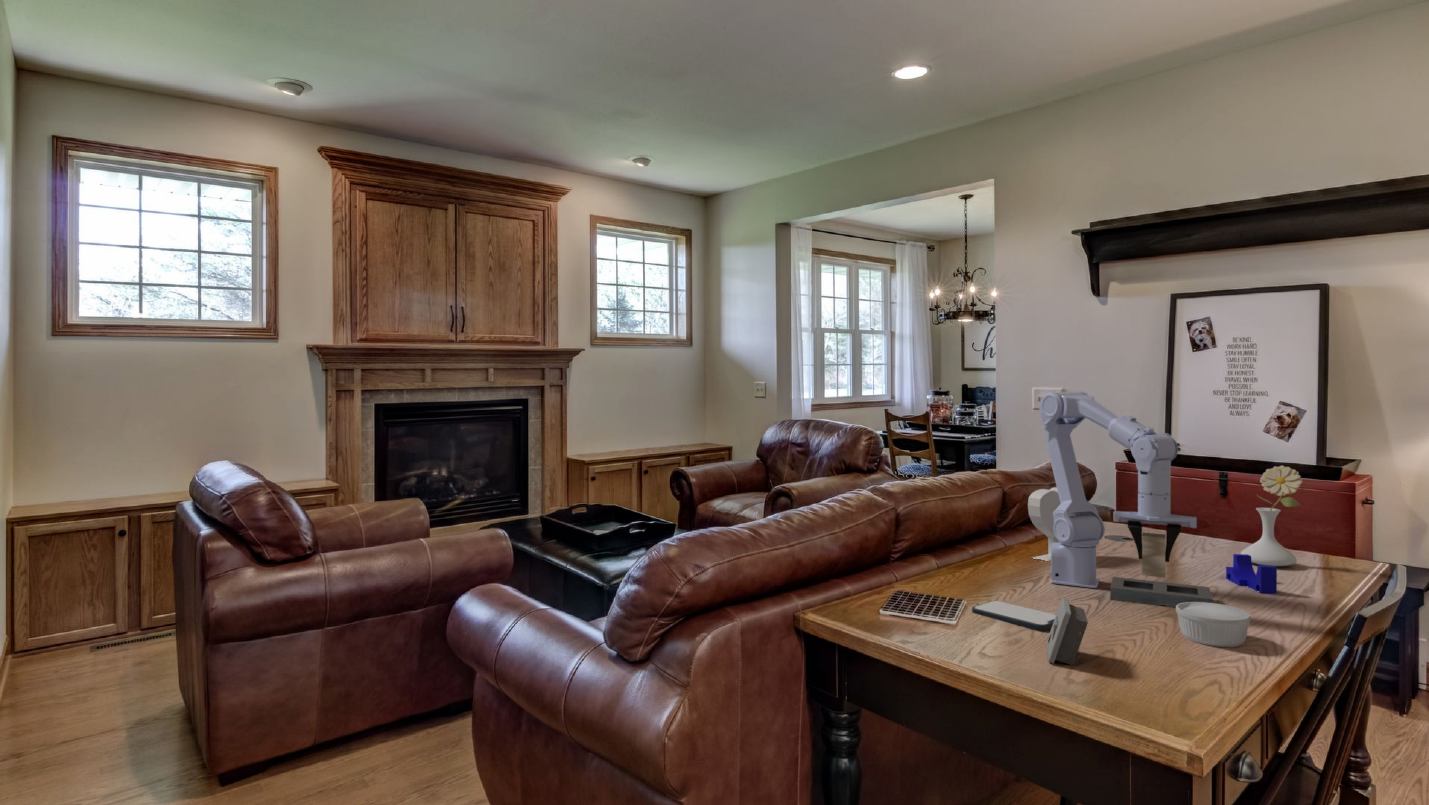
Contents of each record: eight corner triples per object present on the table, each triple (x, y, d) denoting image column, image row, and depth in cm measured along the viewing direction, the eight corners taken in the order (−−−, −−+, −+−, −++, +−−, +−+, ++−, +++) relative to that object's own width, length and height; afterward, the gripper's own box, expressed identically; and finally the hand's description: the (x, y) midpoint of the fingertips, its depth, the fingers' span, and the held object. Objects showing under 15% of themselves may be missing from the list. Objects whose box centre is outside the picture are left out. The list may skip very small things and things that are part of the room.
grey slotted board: (1110, 599, 158) (1110, 587, 158) (1112, 587, 167) (1112, 576, 167) (1212, 611, 149) (1212, 599, 149) (1209, 599, 158) (1209, 587, 157)
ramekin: (1180, 624, 142) (1180, 597, 142) (1252, 637, 135) (1252, 608, 135) (1171, 641, 133) (1171, 612, 133) (1247, 655, 126) (1247, 624, 126)
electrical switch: (1046, 645, 132) (1051, 594, 131) (1078, 652, 130) (1084, 600, 129) (1048, 665, 123) (1054, 610, 122) (1082, 672, 121) (1089, 616, 120)
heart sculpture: (1063, 551, 202) (1063, 485, 201) (1080, 555, 197) (1080, 487, 197) (1025, 559, 194) (1025, 490, 194) (1042, 563, 190) (1042, 492, 189)
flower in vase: (1229, 561, 189) (1230, 463, 188) (1256, 556, 193) (1257, 461, 193) (1287, 573, 177) (1288, 468, 176) (1314, 568, 182) (1315, 466, 181)
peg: (1142, 575, 151) (1142, 536, 151) (1142, 570, 155) (1142, 532, 154) (1165, 577, 149) (1165, 538, 149) (1165, 573, 153) (1165, 534, 152)
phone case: (969, 615, 151) (1043, 634, 138) (969, 607, 151) (1043, 626, 138) (994, 607, 156) (1069, 625, 143) (994, 599, 156) (1068, 617, 143)
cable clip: (1225, 579, 173) (1226, 553, 173) (1247, 580, 172) (1247, 554, 172) (1253, 594, 161) (1253, 566, 161) (1276, 595, 161) (1276, 567, 160)
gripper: (1112, 493, 152) (1112, 559, 152) (1197, 498, 144) (1196, 568, 145) (1114, 488, 158) (1114, 552, 158) (1196, 493, 150) (1195, 560, 151)
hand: (1153, 559), depth 152 cm, fingers closed on peg, 4 cm apart
